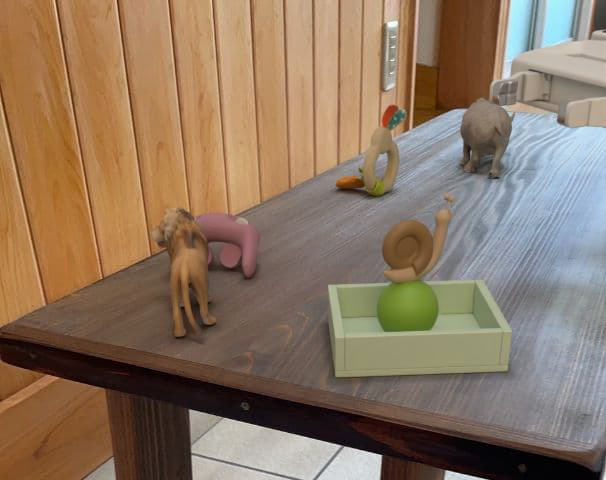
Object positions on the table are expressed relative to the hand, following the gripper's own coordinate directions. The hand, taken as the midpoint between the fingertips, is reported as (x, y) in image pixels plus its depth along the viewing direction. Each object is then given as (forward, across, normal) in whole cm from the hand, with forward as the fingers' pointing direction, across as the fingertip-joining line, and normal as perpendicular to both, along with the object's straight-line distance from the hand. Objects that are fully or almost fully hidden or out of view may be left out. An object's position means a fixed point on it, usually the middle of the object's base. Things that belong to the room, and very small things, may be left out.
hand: (526, 103), depth 68 cm
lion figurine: (+26, +17, -19) cm, 36 cm away
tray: (+10, 0, -19) cm, 21 cm away
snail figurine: (+10, 0, -18) cm, 21 cm away
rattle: (-11, +50, -21) cm, 56 cm away
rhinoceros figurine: (-34, +55, -22) cm, 68 cm away
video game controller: (+19, +28, -19) cm, 39 cm away
